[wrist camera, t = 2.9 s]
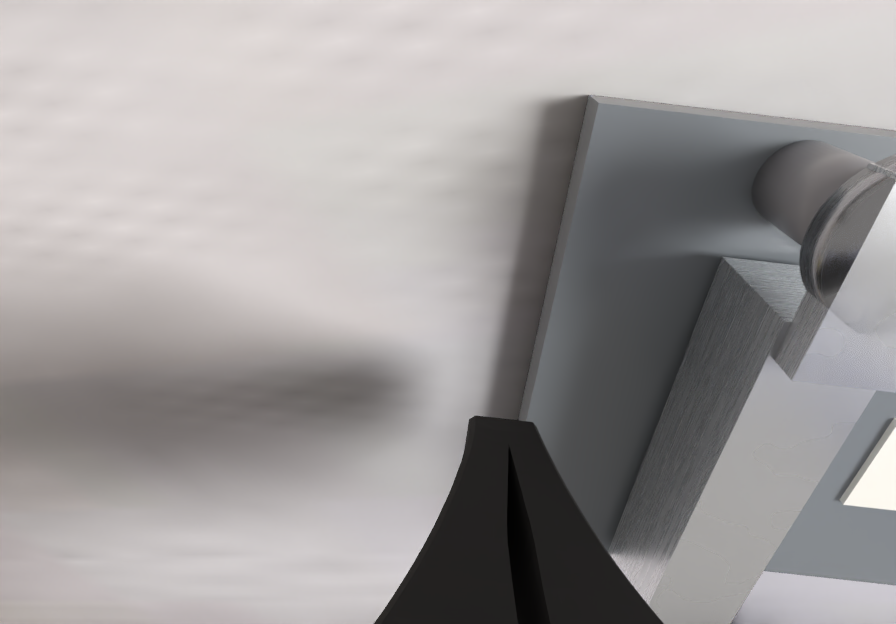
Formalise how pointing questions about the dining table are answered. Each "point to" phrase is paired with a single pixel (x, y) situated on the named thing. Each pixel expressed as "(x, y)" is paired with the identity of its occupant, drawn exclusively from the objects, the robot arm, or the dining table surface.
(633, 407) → the board
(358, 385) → the dining table surface
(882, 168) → the swing bar
